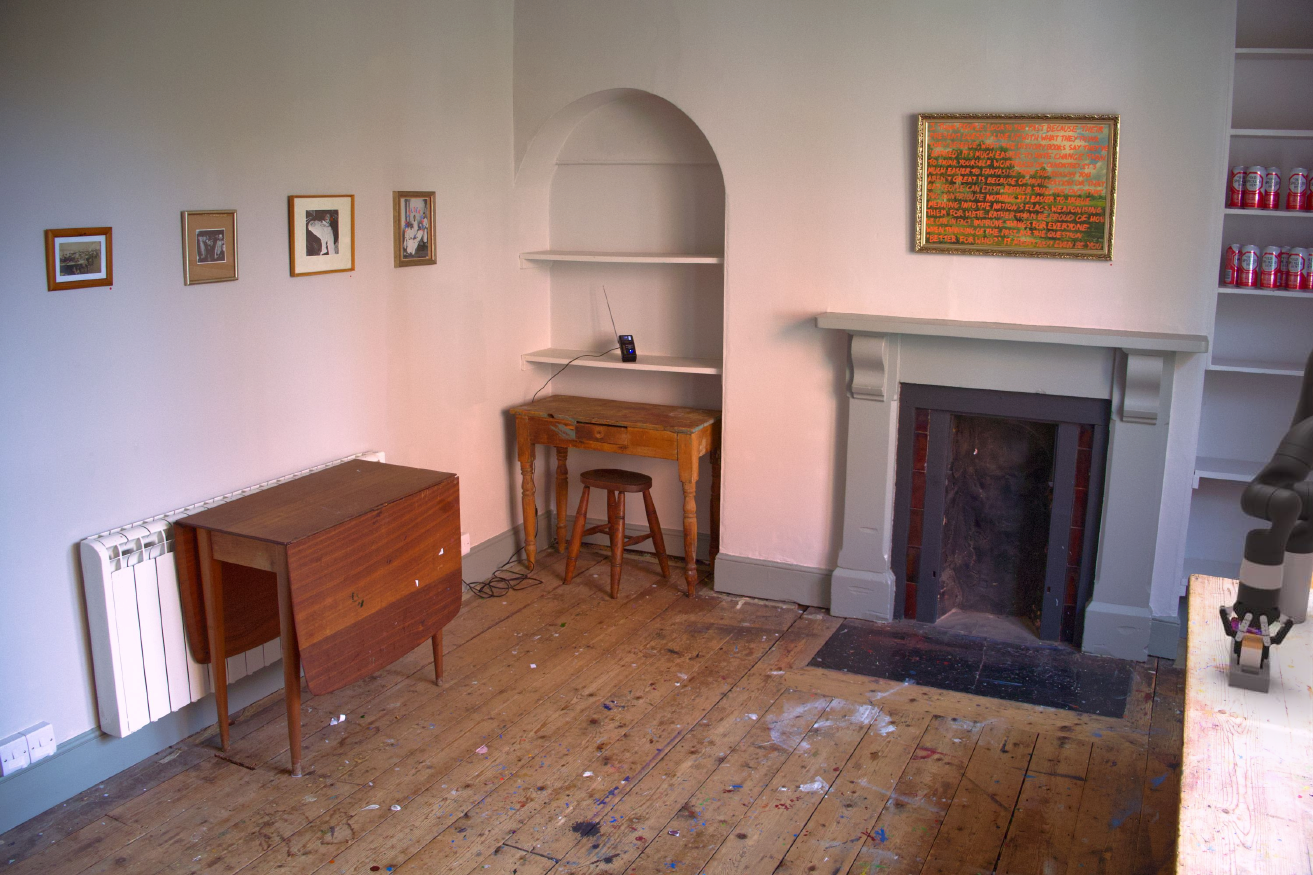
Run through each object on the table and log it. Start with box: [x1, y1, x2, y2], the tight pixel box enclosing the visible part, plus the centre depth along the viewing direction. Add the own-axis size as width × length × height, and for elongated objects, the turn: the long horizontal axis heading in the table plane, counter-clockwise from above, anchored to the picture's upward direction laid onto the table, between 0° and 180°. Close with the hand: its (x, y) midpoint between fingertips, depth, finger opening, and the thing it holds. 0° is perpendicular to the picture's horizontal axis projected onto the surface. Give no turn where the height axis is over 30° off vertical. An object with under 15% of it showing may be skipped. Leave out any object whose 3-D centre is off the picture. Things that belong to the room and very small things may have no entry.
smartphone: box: [1230, 616, 1263, 636], centre depth 238 cm, size 8×1×15 cm
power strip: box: [1228, 633, 1271, 694], centre depth 219 cm, size 22×7×5 cm, turn 151°
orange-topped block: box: [1239, 633, 1263, 669], centre depth 215 cm, size 4×4×8 cm
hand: (1250, 657), depth 216 cm, fingers closed on orange-topped block, 3 cm apart
